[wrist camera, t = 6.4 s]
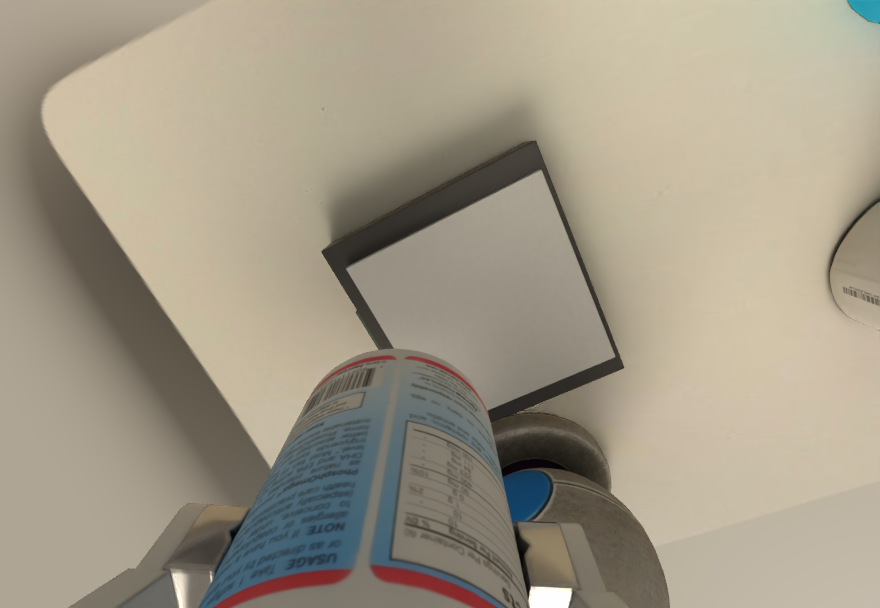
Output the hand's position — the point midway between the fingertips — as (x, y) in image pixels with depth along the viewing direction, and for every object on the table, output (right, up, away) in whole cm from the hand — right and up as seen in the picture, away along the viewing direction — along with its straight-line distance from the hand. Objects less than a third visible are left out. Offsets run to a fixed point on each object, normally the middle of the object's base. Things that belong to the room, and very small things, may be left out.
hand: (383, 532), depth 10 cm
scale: (+4, +6, +19) cm, 20 cm away
